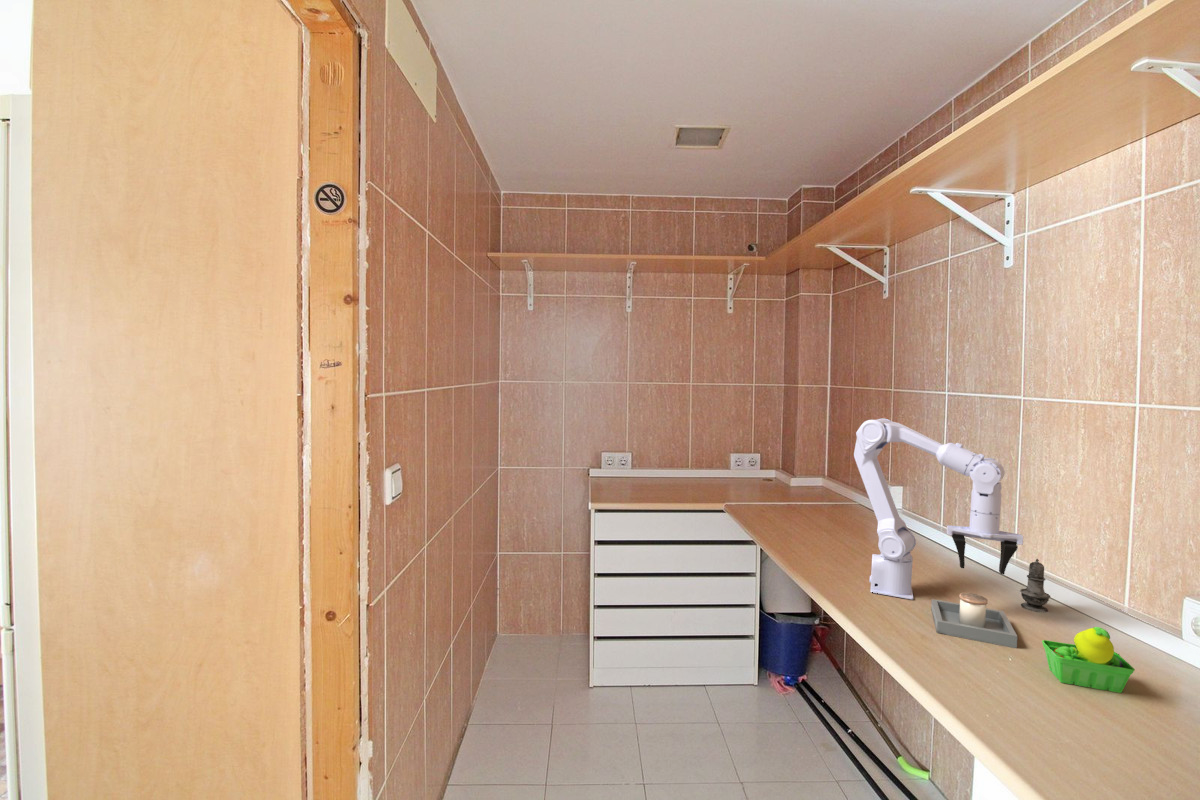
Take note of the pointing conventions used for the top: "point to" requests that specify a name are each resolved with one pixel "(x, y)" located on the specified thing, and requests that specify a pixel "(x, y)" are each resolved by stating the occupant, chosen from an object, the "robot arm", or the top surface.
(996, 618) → the tray
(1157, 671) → the top surface
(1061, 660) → the fruit basket
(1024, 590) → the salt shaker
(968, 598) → the cup
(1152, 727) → the top surface
